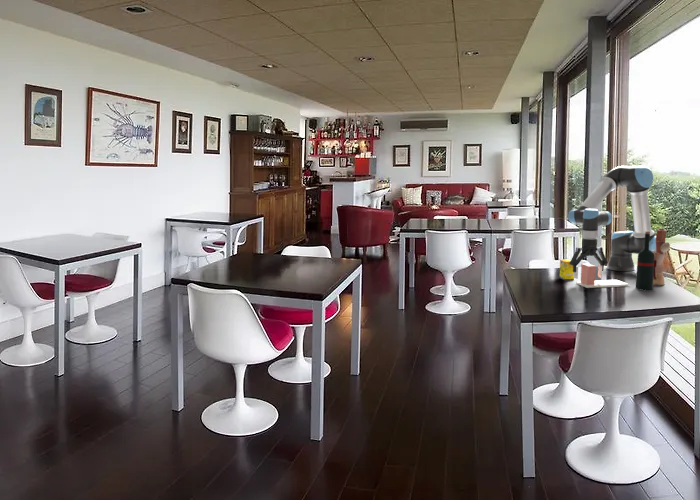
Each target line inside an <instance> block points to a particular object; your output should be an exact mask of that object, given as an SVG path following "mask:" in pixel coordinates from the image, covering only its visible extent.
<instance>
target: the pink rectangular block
mask: <svg viewBox="0 0 700 500" xmlns="http://www.w3.org/2000/svg"><path fill="white" fill-rule="evenodd" d="M580 267H581V269H580V280H578V281H576V282H575V283H576V284H577V285H579V286H581V287H584V288H586V289H590V288H591V289H592V288H593V289H594V288H600V287H599V285H597V284H595V281H596V265H593V264H591V263H581V266H580Z"/></svg>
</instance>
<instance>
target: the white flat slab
mask: <svg viewBox="0 0 700 500" xmlns="http://www.w3.org/2000/svg"><path fill="white" fill-rule="evenodd" d="M595 284H597V285H599V287H598V288H615V287H617V288H618V287H629V286H630V285H629V283H627V282H624V281H621V280H618V279H605V280H595Z"/></svg>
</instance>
